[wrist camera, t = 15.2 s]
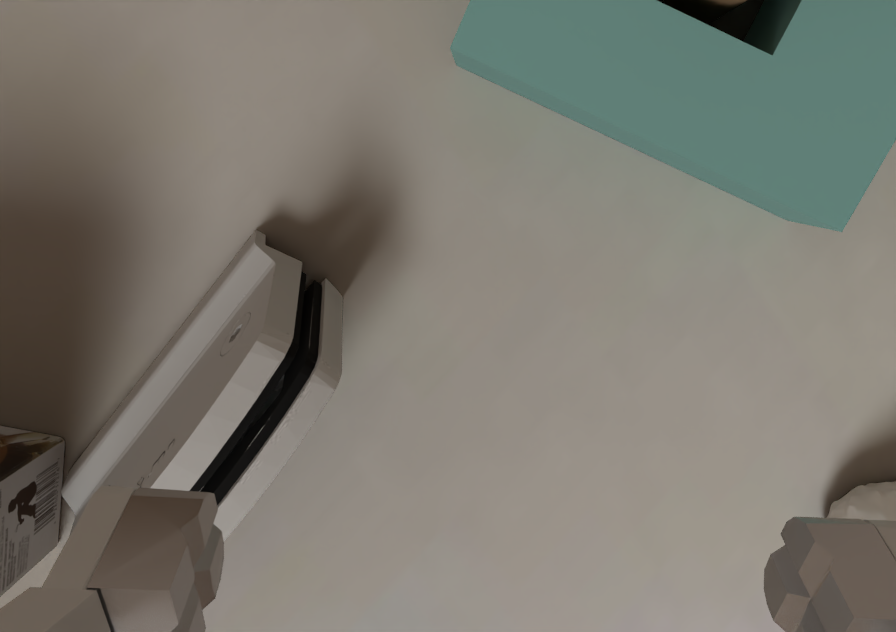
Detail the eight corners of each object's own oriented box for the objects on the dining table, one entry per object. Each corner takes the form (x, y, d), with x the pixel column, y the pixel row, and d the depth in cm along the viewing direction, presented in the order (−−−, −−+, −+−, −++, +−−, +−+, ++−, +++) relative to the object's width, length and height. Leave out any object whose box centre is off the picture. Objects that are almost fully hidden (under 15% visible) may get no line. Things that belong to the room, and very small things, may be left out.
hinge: (261, 222, 33) (253, 312, 24) (343, 279, 35) (364, 382, 26) (64, 476, 36) (-5, 636, 27) (150, 514, 38) (111, 676, 29)
